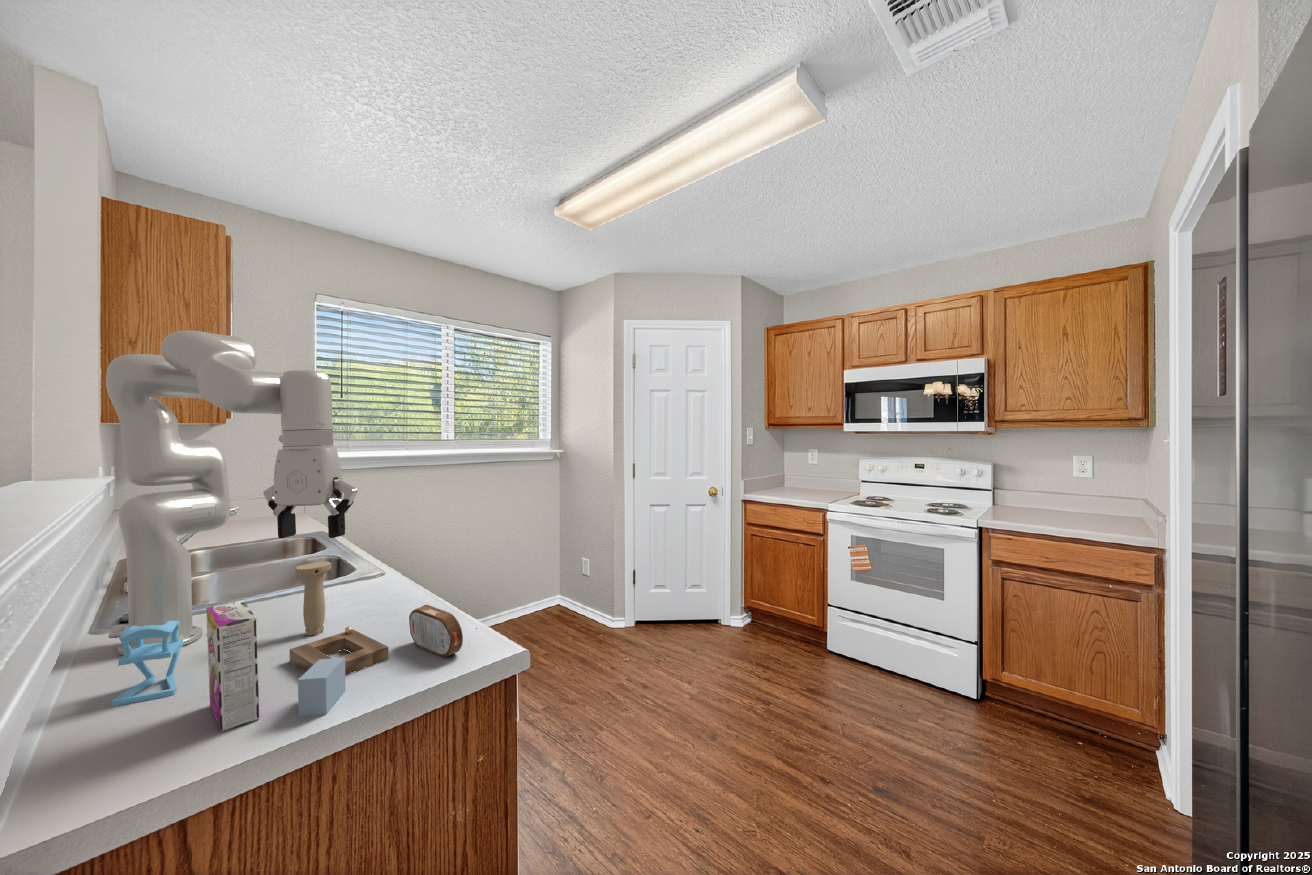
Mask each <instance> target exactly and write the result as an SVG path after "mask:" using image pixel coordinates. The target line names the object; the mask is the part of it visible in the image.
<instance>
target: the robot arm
mask: <svg viewBox="0 0 1312 875" xmlns="http://www.w3.org/2000/svg"><path fill="white" fill-rule="evenodd" d="M160 353H161V354H160V355H159V354H150V353H128V354H124V355H123V354H122V355H120V356H117V357H115V358H114V359H112V360H111V361H110V363H109V365H108V367H107V368H106V372H105V387H106V390H107V394H108V398H109V400H110V401H111V404H112V405H113V407H114V410H115V412H116V415H117V417H118V419H119V425H120V434H121V436H120V437H121V447H122V455H123V464H124V465H123V466H124V472H125V475H126V478H127V479H128V481H129V482H130V483H131V484H133V485H135V486H139V487H161V486H172V485H173V486H174V485H183V484H184V485H185V484H191V487H192V489H183V490H169V491H160V492H151V493H144V494H141V495H137V496H134V497H132V498H129V499H128V500H126V501H125V502H124V503H122V505H121V506H120V508H119V509H118V510H119V511H118V523H119V527H120V530H121V534H122V537H123V542H124V546H125V548H124V549H125V555H126V557H125V558H126V574H127V606H128V607H127V609H128V610H127V611H128V616H127V617H128V618H127V619H128V624H120V625H119V624H118V625H117V624H116V625H114V626H112V628H111V631H109V633H108V635H107V637H108V639H119V638H120V635H121V633H122V632H123V631H124V630H125V629H127V628H129V627H131V626H138V627H139V626H141V627H142V626H147V625H164V624H166V623H167V622H168V621H180V627H179V630H178V638H179V639H183V644H182V647H183V646H187V645H189V644H191V643H193V642H195V641H197V640H199V638H201V637H202V636H203V628H202V627H201V626H196V625H193V596H192V593H193V592H192V591H193V590H192V585H193V584H192V557H191V554H190V551H189V550H188V549H187V548H186V547H185V546H184V545H183V544H182V543H180V542H179V541H178V539H177V538H176V537H179V536H184V535H188V534H195V533H200V532H206V531H212V530H215V529H218V528H221V527H222V526H224V525H225V524H226V523H227V521H229V519H230V514H231V500H230V498H231V497H230V489H229V480H228V470H227V462H226V457H225V454H224V452H223V451H222V449H221V448H220V447H219V446H218V445H217V444H216V443H215V442H212V441H210V440H206V439H205V440H203V439H182V438H181V437H180V433H179V422H178V419H177V417H176V415H175V414H174V412H173V411H172V410H171V409H170V408H169V407H168V406H167V405H166V404H165V403H164V402H162V401H161V400H160V399H158V398H157V397H162V398H163V397H165V398H185V399H203V400H205V401H206V402H209V403H210V404H212V405H214V406H216V407H218V408H220V409H221V410H225V411H228V412H231V413H237V414H265V415H267V414H268V415H269V414H270V415H271V414H272V415H280V422H281V423H280V424H281V425H280V426H281V429H280V430H281V434H280V435H279V436H278V441H279V442H280V443H281V449H278V450H277V454H276V458H275V462H274V463H275V464H274V469H273V470H274V471H273V472H274V473H273V485H272V486H269V487H267V488H266V489H265V490H264V491H263V496H264V498H265V499H266V502H267V506H268V507H269V508H270V509H271V510H272V511H273V512H272V513H273V515H274V516H275V517H276V518H277V519H276V520H277V538H278V539H285V538H290V537H293V536H296V534H297V526H296V524H297V523H296V513H295V512H293V511H294V510H295V508H296V507H300V506H301V507H302V506H304V507H306V506H307V507H310V506H311V507H313V506H321V505H323V506H324V507H325V508H326V509H327V511H328V512H329V513H330V515H328V516H327V528H328V529H327V534H328V538H329V539H335V538H339V537H342V536H345V535H346V514H347V513H348V512H349V510H350V508H351V507H352V505H353V504H354V500H355V498H356V496H357V494H358V488H357V487H354V486H353V485H351V484H349V483H347V482H345V481H344V480H343V475H342V474H343V473H342V468H341V462H340V458H339V453H338V450H337V447H334V431H333V430H334V427H333V426H334V425H333V424H334V423H333V421H334V420H333V402H332V401H333V399H332V395H333V394H332V380H331V377H330V376H329V374H327V373H326V372H323V371H320V370H319V371H317V370H307V369H293V370H286V371H284V372H282V373H281V372H276V371H275V372H273V371H264V370H261V371H260V370H254V369H255V367H256V364H257V353H256V350H255V348H254V347H253V346H252V345H251V344H250V343H249V342H248V341H247V340H245V339H243V338H241V337H238V336H233V335H225V334H220V333H213V332H207V331H199V330H186V329H185V330H178V331H175V332H172V333H170V334H168V335H166V336H165V337H164V338H163V340H162V341H161V344H160ZM343 494H344V495H343ZM342 498H343V499H342ZM171 636H172V633H171V635H170V636H169V640H168V641H172V637H171ZM163 639H164V638H145V639H143V645H145V644H155V643H161V642H163ZM128 644H129V645H130V647H131V649H132V648H133V647H134V646H136V641H132V642H129V643H128ZM117 652H118V654H119V655H122V656H124V653H125V649H124V647H123V645H122V643H120V644H119V645H118V647H117Z"/></svg>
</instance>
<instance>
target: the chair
mask: <svg viewBox="0 0 1312 875" xmlns="http://www.w3.org/2000/svg"><path fill="white" fill-rule="evenodd" d="M179 627H180V621H168V622H167V623H166V624H164V625H147V626H142V627H141V626H139V627H138V626H131V627H129V628H127V629H125V630H124V631H123V632H122V633H121V635H120V637H119V638H118V639H119V641H120V642H121V643H122V645H123V647H124V649H125V653H124V655H122V657H121V658H118V660H117V662H118V663H117V665H118V666H119V667H120V666H126V665H130V664H134V665H135V666H136V667H137V669H138V670H139V671H140V672H141V673H142V674H143V676H144V677H145V679H144V680H143V681H141V682H140V683H138V684H136V685H134V686H133V687H131V688H129V689H128V690H126V691H125V692H123V693H121V694H119V695H118V696H116V697H115V698H114V699H112V700H111V707H113V706H114V707H117V706H116V705H120V706H124V704H125V705H128V704H129V703H130V704H133V702H135V703H140V702H145V701H150V700H155V699H161V698H165V697H170V696H174V695H176V693H177V684H176V681H175V670H176V666H177V664H178V660H179V656H180V653H181V650H182V647H183V646H182V644H183V639H179V638H178V630H179ZM171 633H172V636H171V637H172V641H168V640H169V636H170V635H171ZM145 638H164V639H163V642H161V643H155V644H145V645H143V639H145ZM132 641H136V646H134V647H133V648H132V649H131V647H130V645H129V644H128V643H129V642H132ZM121 643H120V644H121ZM167 658H171V660H170V663H169V666H168V669H167V671H166V674H165V681H166V686H167V689H162V690H158V691H152V692H147V693H146V692H145V693H141V694H137V693H139V692H141V691H142V690H144V689H146V688H147V687H149V686H151V685H152V684H153V683H155V682H156V675H155V674H154V673H153V672H152V670H150V668H149V667H148V666H147V664H146V663H145V662H144V661H149V660H163V659H167ZM135 693H136V694H137V695H136V694H135Z"/></svg>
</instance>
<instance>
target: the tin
mask: <svg viewBox="0 0 1312 875" xmlns="http://www.w3.org/2000/svg"><path fill="white" fill-rule="evenodd" d="M408 619H409V623H408V624H409V633H410V635H411V638H412V641H413V642H414V643H415V644H416V646H417V647H418V648H421V649H423V650H425V651H427V650H428V651H427V652H430V653H433V654H434V655H436V654H437V656H439V657H441V656H442V658H447V657H449V656H450V655H451V656H452V655H453V654H456V653H458V652H459V651H460V650H461V648H462V646H463V643H464V640H463V638H464V637H463V630H462V627H461V624H460V622H459V620H458V619H457V617H455V615H454V614H452V613H451V612H449V611H446V610H443V609H441V608H438V607H435V606H432V605H429V604H423V605H422V606H419V607H417V608H415V609H413V610H412V611H411V612H410V614H409V616H408Z"/></svg>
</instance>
